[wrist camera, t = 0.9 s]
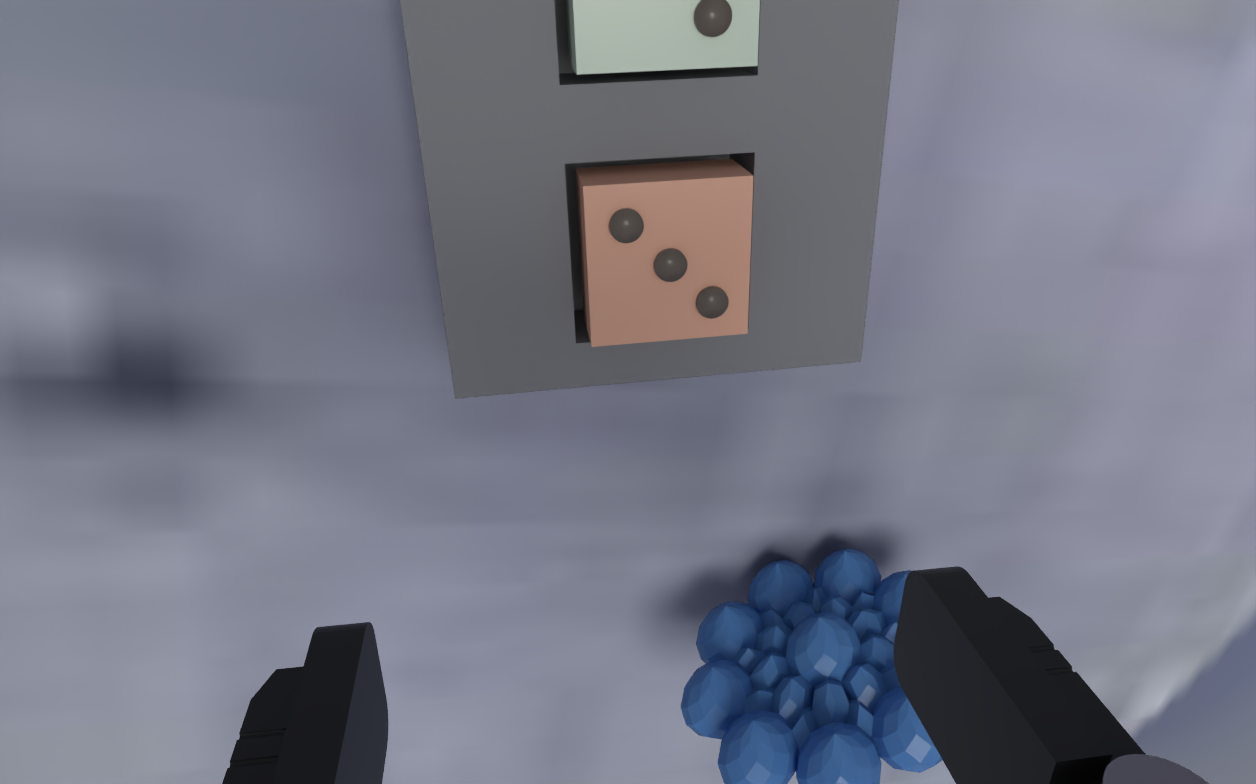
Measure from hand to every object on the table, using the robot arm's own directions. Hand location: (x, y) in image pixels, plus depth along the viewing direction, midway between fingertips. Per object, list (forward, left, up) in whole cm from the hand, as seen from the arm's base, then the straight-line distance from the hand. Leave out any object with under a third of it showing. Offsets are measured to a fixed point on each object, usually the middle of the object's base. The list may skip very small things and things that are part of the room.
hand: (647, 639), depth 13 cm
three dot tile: (-1, +3, -17) cm, 17 cm away
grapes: (+17, +9, -20) cm, 28 cm away
